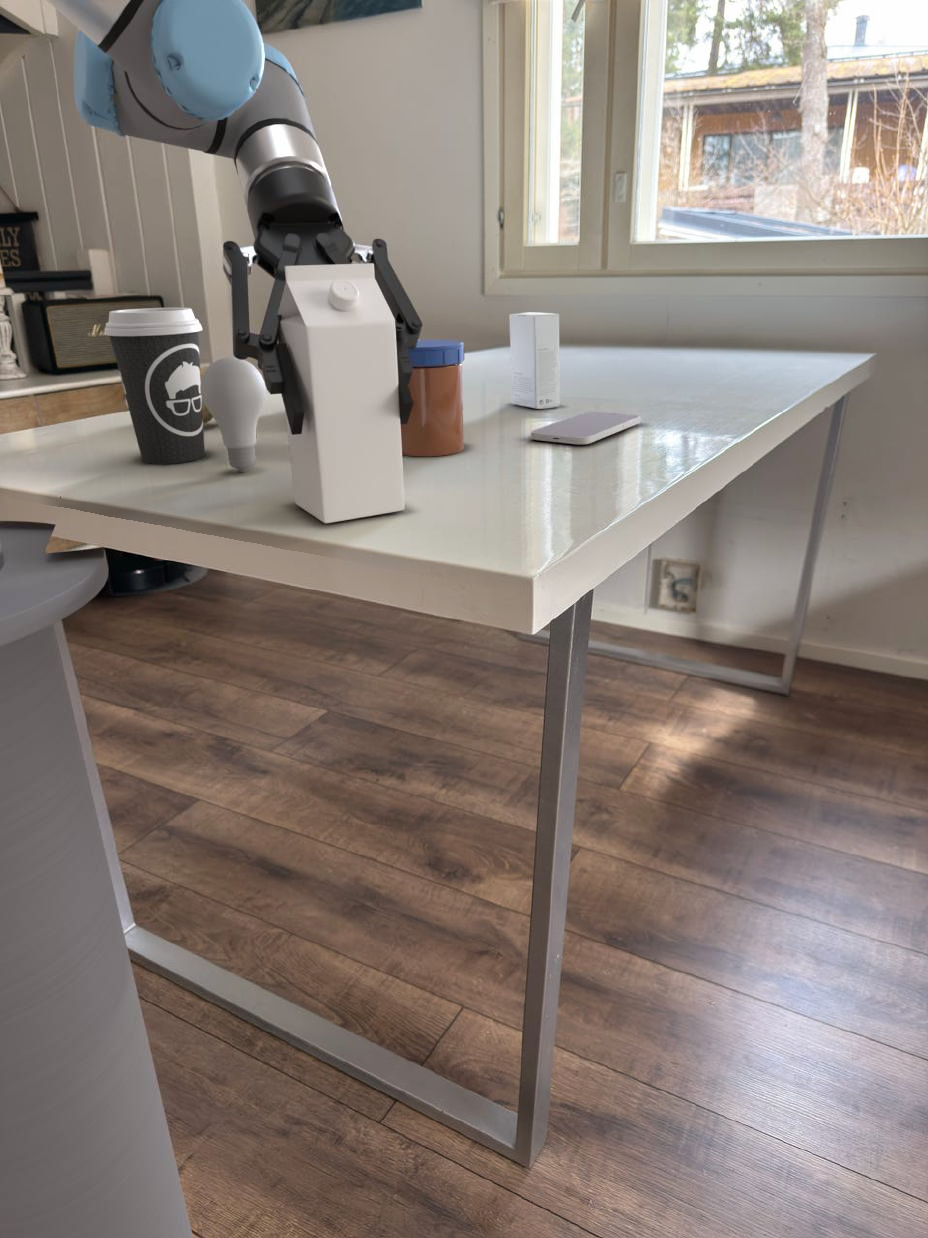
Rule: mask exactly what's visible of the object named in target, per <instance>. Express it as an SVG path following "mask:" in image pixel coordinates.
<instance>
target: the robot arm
mask: <svg viewBox="0 0 928 1238" xmlns="http://www.w3.org/2000/svg"><path fill="white" fill-rule="evenodd" d="M46 1H47V2H48V4H50V5H51V6H52V7H53V8H55V9H56V10H57V11H58V12H59V13H60V14H61V15H62V16H64V18H66V19H67V20H68V21H69V22H71V24H73V25H74V26H75V27H76V28H77V29H78V30H77V34H76V37H75V43H74V44H75V45H74V54H73V92H74V93H73V94H74V100H75V106H76V110H77V112H78V115H79V116H80V118H81V119H82V120H83V122H84V123H86V124H87V125H89V126H91V127H94V128H98V129H101V130H105V131H108V132H112V133H115V134H117V135H118V136H119V137H123V138H125V137H126V136H127V137H132V138H137V139H142V140H147V141H151V142H156V143H160V144H165V145H170V146H175V147H179V148H183V149H184V148H185V149H188V150H194V151H198V152H203V153H205V154H208V155H214V156H218V157H223V158H227V159H232V160H233V163H234V166H235V170H236V173H237V176H238V180H239V184H240V187H241V192H242V195H243V200H244V203H245V206H246V211H247V215H248V219H249V223H250V227H251V230H252V234H253V237H254V242H253V245H248V246H243V247H240V246H239V244H238V243H237V242H235V241H233V240H227V241H225V242H223V244H222V270H223V273H224V274H225V277H226V279H227V281H228V282H229V284H230V289H231V290H230V291H231V293H230V294H231V324H232V325H231V327H232V328H231V329H232V330H231V331H232V354H233V357H235V358H237V359H240V360H246V359H248V358H250V359H254V360H256V361H257V367H258V369H259V370H261V371H262V377H263V380H264V383H265V386H266V391H267V392H268V393H269V395H281V397H282V398H281V399H282V402H283V406H284V410H286V411H285V415H286V414H287V418H288V422H289V426H290V429H291V433H292V435H296V434H302V427H303V420H304V413H305V412H304V409H303V405H302V401H301V397H300V394H299V390H298V386H297V382H296V379H295V375H294V371H293V367H292V364H291V360H290V356H289V352H288V349H287V345H286V343H278V334H279V326H280V321H281V317H282V315H278V311H279V307H280V303H281V299H282V295H283V291H284V287H285V284H286V276H285V266H303V265H336V264H353V262H356V263H357V264H369V263H373V264H374V275H375V280H376V282H377V284H378V286H379V288H380V290H381V292H382V294H383V296H384V298H385V300H386V302H387V304H388V306H389V308H390V310H391V312H392V314H393V317H394V319H395V329H396V348H397V367H398V388H399V408H400V425H402V424H407V423H408V420H409V416H410V413H411V410H412V407H413V404H414V402H413V399H412V396H411V393H410V390H409V387H408V384H409V382H410V379H411V376H412V372H413V366H412V363H411V360H410V357H409V353H408V350H407V349H414V348H416V346H417V343H418V340H420V336H421V333H422V328H423V326H424V325H423V322H422V320H421V318H420V316H419V314H418V312H417V310H416V308H415V307H414V305H413V303H412V301H411V300H410V297H409V296H408V294H407V292H406V290H405V288H404V287H403V284H402V283H401V281H400V279H399V277H398V275H397V274H396V272H395V270H394V268H393V266H392V264H391V263H390V260H389V255H388V254H389V253H388V245H387V242H386V241H385V240H384V239H382V238H374V239H373V240H372V244H371V245H366V244H357V243H355V241H354V239H352V237H351V236H350V235H349V234H348V233H347V231H345V227H344V223H343V219H342V216H341V212H340V209H339V206H338V203H337V199H336V196H335V194H334V190H333V187H332V183H331V180H330V176H329V174H328V170H327V167H326V165H325V162H324V158H323V155H322V153H321V150H320V147H319V143H318V140H317V137H316V133H315V130H314V127H313V123H312V120H311V117H310V113H309V109H308V103H307V100H306V95H305V93H304V91H303V88H302V86H301V84H300V82H299V80H298V78H297V75H296V73H295V71H294V68H293V67H292V65H291V63H290V62H289V60H288V58H287V57H286V56H285V55H284V54H283V53H282V52H280V51H279V50H278V49H277V48H275V47H273V46H271V45H270V44H267V43H264V39H263V36H262V33H261V30H260V28H259V25H258V23H257V22H256V19H255V17H254V15H253V14H252V12H251V10H250V9H249V8H248V6H247V5H246V3H245V2H244V1H243V0H46ZM254 265H257V267H259V268H260V269H261V270H263V271H264V272H265V273H267V274H268V275H269V276H270V277H272V278H273V279H274V282H273V285H272V288H271V292H270V296H269V299H268V303H267V307H266V310H265V314H264V317H263V321H262V325H261V328H260V332H259V334H258V333H254V332H251V330H250V328H251V327H250V305H249V303H250V302H249V276H250V275H251V274H252V273H253V267H254ZM3 565H4V556H3V551H2V547H1V543H0V569H1V568H2V567H3Z"/></svg>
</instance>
